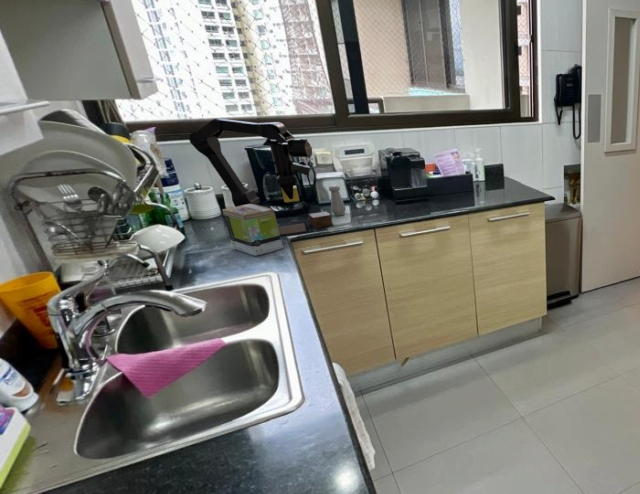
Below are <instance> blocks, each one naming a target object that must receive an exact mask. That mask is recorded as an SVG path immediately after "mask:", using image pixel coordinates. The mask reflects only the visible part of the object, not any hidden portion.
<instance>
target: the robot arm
mask: <svg viewBox="0 0 640 494" xmlns="http://www.w3.org/2000/svg"><path fill="white" fill-rule="evenodd" d="M224 131H226V132H233V133H242V134H250V135H251V134H252V135H256V136H259V137H261V138H263V139H266V140H265V141H264V143H262V145H263V146H266V147H267V146H268V147H270V151H271V156H272V160H273V164H274V165H273V166H274V168H275V175H276V182H277V185H279V187H280V189H281V188H282V189H283V191H284V192H285V193H286V195H287V196H288V197H289V199H293V186H296V184H297V183H298V179H297V176H296V173H297V174H300V175H305V176H309V175H310V171H311V166H309V165H308V164H306V162H305V161H303V160H300V161H298V162H293V159H292V157H293V158H311V157H312V156H313V147H312V145H311V143H310V142H309V141H308V138H295V136H293V135H292V134H291V133H290V131H288V129H287V127H286V126H285V125H284V124H283V123H282V122H280V121H273V122H272V121H271V122H251V121H243V120H235V119H227V118H224V117H218V118H213V119H211V120H210V121H209V122H208V123H207V124H205V125H204V126H202V127H201V128H199V129H198V130H197V131H193V132H191V133H190V134H189V138H188V141H189V143H190V144H191V145H192V146H193V147H194V149H195V150H196V151H197V152H198V153H200V154H202V155H203V156H204V157H206V158H207V159H208V161H209V163H210V164H211V165H212V167H213V168H214V170H215V172H217V174H218V176H219V177H220V179H221V180H222V181H223V183H224V185H225V186H226V187H227V189H228V190H229V192H230V194H231V201H232V205H234V206H233V207H237V206H242V205H247V204H255V205H259V206H261V202H260V198H261V197H259V196H258V195H257V193H256V191H255V189H250V190H249V189H248V188H247V187H245V186H244V184H243V183H242V181H241V180H240V178H239V177H238V175H237V174H236V172H235V171H234V169H233V168H232V166H231V165H230V163H229V162H228V160H227V158H226V157H225V155H224V154H223V153H222V148H221V143H220V140H219V138H220V136H222V135H223V133H224ZM282 189H281V190H282Z"/></svg>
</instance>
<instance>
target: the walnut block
mask: <svg viewBox="0 0 640 494" xmlns="http://www.w3.org/2000/svg"><path fill="white" fill-rule="evenodd" d="M308 216H309V220H310V221H309V222H310V225H311V226H312V227H313V228H314V229H319V228H325V227H331V226H333V220H332V215H331V214H330V213H329V212H328V211H320V212H315V213H314V212H313V213H308Z"/></svg>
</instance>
